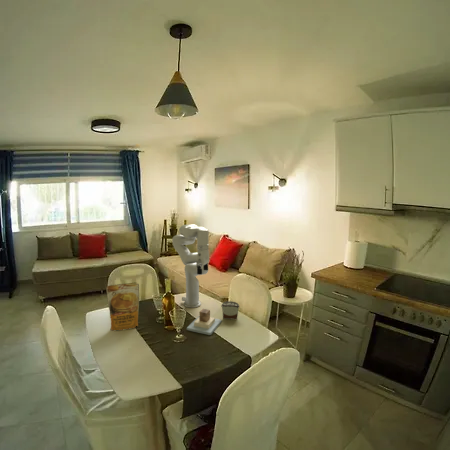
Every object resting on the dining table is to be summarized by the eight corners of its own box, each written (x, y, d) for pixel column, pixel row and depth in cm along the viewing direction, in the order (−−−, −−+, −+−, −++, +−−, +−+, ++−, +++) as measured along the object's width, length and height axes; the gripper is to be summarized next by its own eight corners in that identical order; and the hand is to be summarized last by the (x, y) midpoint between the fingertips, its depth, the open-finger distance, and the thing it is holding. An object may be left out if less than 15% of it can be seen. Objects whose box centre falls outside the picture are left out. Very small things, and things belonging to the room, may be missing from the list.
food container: (239, 315, 198) (240, 301, 196) (239, 319, 192) (239, 305, 190) (221, 314, 199) (222, 300, 198) (220, 318, 193) (221, 304, 192)
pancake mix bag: (108, 327, 179) (106, 284, 175) (140, 322, 186) (138, 281, 181) (107, 332, 173) (105, 288, 169) (140, 327, 179) (139, 284, 175)
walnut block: (199, 320, 181) (199, 311, 180) (202, 317, 185) (202, 308, 185) (206, 322, 179) (206, 313, 178) (209, 318, 184) (210, 309, 183)
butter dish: (186, 330, 177) (186, 323, 177) (199, 317, 194) (199, 311, 193) (210, 335, 172) (210, 328, 171) (221, 321, 188) (221, 316, 188)
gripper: (202, 250, 182) (202, 276, 185) (213, 245, 198) (212, 269, 201) (191, 249, 185) (191, 275, 187) (203, 244, 201) (203, 268, 203)
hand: (202, 272), depth 194 cm, fingers open, 9 cm apart
